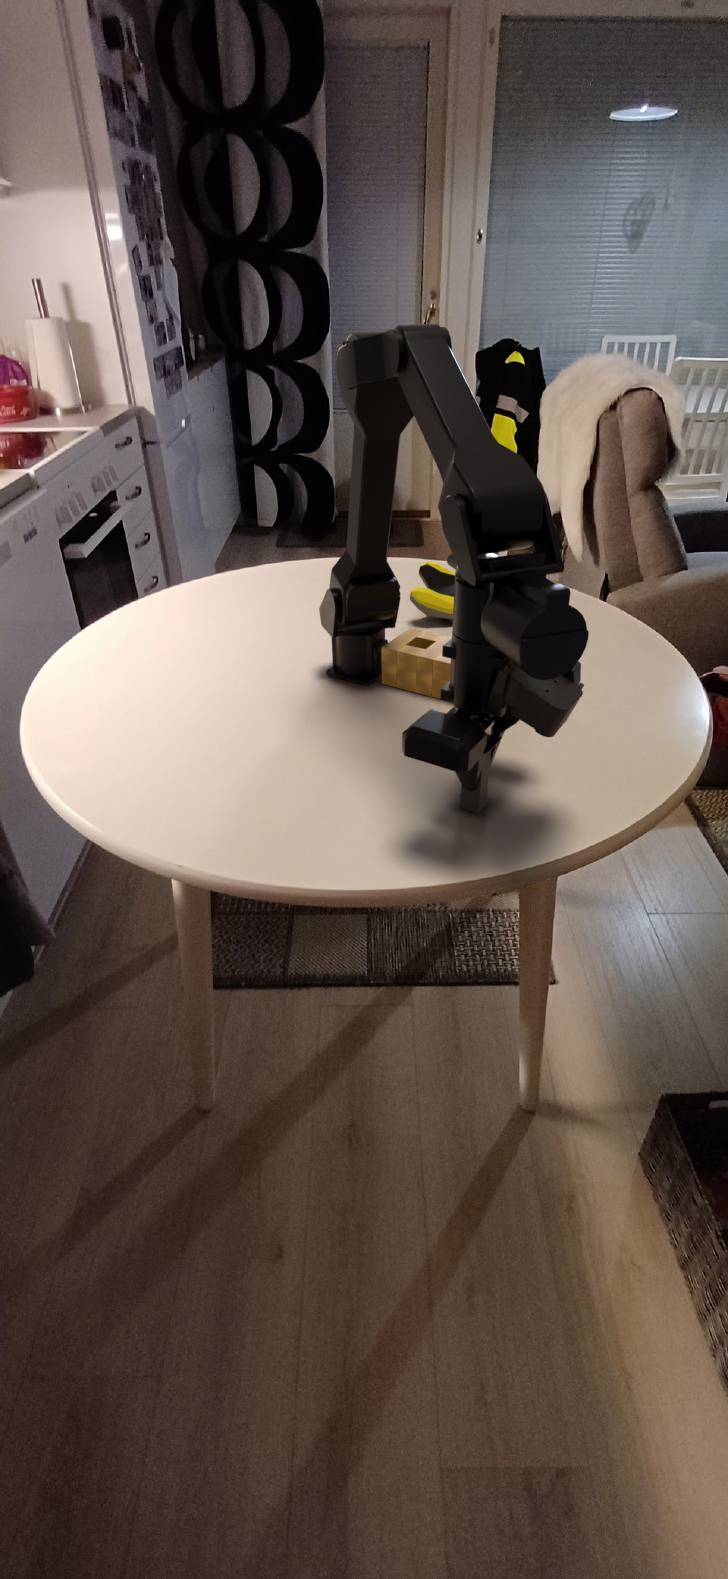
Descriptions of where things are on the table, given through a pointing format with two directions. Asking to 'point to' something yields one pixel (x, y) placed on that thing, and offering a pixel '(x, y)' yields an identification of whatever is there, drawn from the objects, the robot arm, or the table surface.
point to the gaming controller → (435, 591)
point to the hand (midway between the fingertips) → (474, 784)
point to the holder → (416, 662)
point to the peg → (477, 788)
